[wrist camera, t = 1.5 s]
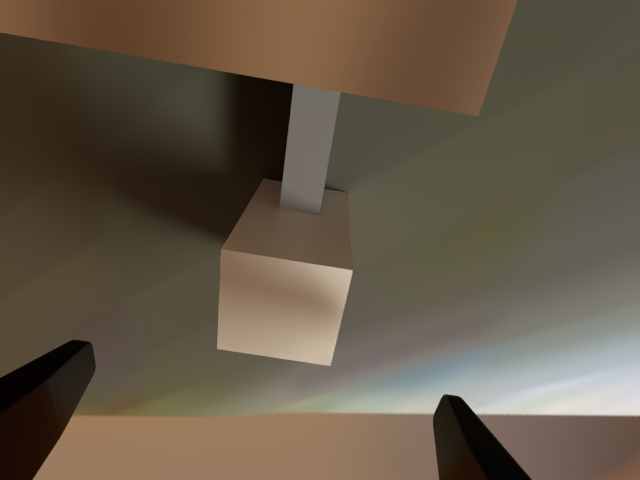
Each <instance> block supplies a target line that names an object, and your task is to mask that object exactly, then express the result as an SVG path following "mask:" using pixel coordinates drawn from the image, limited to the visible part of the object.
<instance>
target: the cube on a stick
mask: <svg viewBox="0 0 640 480" xmlns="http://www.w3.org/2000/svg"><path fill="white" fill-rule="evenodd" d="M340 93H341V92H338V91H332V90H326V89H321V88H315V87H309V86H303V85H298V84H294V86H293V94H292V103H291V112H290V120H289V129H288V137H287V146H286V155H285V163H284V172H283V180H282V181H276V180H270V179H263V181H262V182H261V184H260V186H259V187H258V189H257V191H256V192H255V194H254V196H253V197H252V199H251V201H250V202H249V204H248V206H247V207H246V209H245V211H244V212H243V214H242V216H241V217H240V219H239V221H238V222H237V224H236V226H235V227H234V229H233V231H232V232H231V234H230V236H229V237H228V239H227V240H226V242H225V244H224V245H223V247H222V249H221V267H220V292H219V317H218V342H217V349H222V350H228V351H235V352H241V353H248V354H255V355H261V356H268V357H274V358H281V359H288V360H294V361H301V362H308V363H314V364H321V365H327V366H331V362H332V357H333V353H334V349H335V345H336V340H337V336H338V332H339V328H340V323H341V319H342V315H343V311H344V306H345V302H346V298H347V294H348V289H349V285H350V281H351V277H352V272H353V264H352V249H351V234H350V220H349V205H348V193H347V192H341V191H335V190H329V189H324V186H325V180H326V174H327V168H328V163H329V157H330V151H331V145H332V139H333V134H334V128H335V122H336V116H337V110H338V104H339V99H340Z"/></svg>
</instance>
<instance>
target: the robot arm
mask: <svg viewBox="0 0 640 480" xmlns="http://www.w3.org/2000/svg"><path fill="white" fill-rule="evenodd" d="M95 368H96V364H95V358H94V352H93V346H92V344H91V343H90V342H88V341H81V340H71V341H69V342H67V343H65V344H63V345H62V346H60V347H58V348H56V349H54V350H52V351H50V352H48V353H46V354H45V355H43V356H41V357H39V358H37V359H35V360H33V361H31V362H29V363H28V364H26V365H24V366H22V367H20V368H18V369H16V370H14V371H12V372H11V373H9V374H7V375H5V376H3V377H1V378H0V480H33V478H34V477H35V475H36V473H37V472H38V470H39V469H40V467H41V466H42V464H43V463H44V461H45V460H46V458H47V457H48V455H49V454H50V452H51V451H52V449H53V448H54V446H55V445H56V443H57V441H58V440H59V438H60V437H61V435H62V433H63V431H64V430H65V428H66V426H67V424H68V422H69V420H70V418H71V417H72V415H73V413H74V411H75V409H76V407H77V405H78V403H79V401H80V400H81V398H82V396H83V394H84V392H85V390H86V388H87V386H88V384H89V382H90V381H91V379H92V377H93V375H94V372H95ZM433 428H434V437H435V446H436V455H437V464H438V472H439V480H532V479H531V478H530V477H529V476H528V474H527V473H526V472H525V471H524V470H523V469H522V467H521V466H520V465H519V464H518V463H517V462H516V460H515V459H514V458H513V457H512V456H511V455H510V454H509V453H508V451H507V450H506V449H505V448H504V447H503V445H502V444H501V443H500V442H499V441H498V440H497V438H496V437H495V436H494V435H493V434H492V433H491V432H490V431H489V429H488V428H487V427H486V426H485V425H484V423H483V422H482V421H481V420H480V419H479V418H478V416H477V415H476V414H475V413H474V412H473V411H472V409H471V408H470V407H469V406H468V405H467V404H466V403H465V401H464V400H463V399H462V398H461V397H459V396H454V395H447V394H446V395H443V396H442V398H441V400H440V402H439V405H438V407H437V409H436V411H435V413H434V417H433Z"/></svg>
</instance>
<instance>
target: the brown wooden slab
mask: <svg viewBox="0 0 640 480" xmlns="http://www.w3.org/2000/svg"><path fill="white" fill-rule="evenodd" d="M517 1H518V0H0V32H1V33H7V34H12V35H18V36H24V37H29V38H35V39H41V40H46V41H52V42H58V43H64V44H69V45H75V46H81V47H86V48H92V49H98V50H104V51H109V52H115V53H121V54H126V55H132V56H138V57H144V58H149V59H155V60H161V61H166V62H172V63H178V64H183V65H189V66H195V67H201V68H206V69H212V70H218V71H223V72H229V73H235V74H241V75H246V76H252V77H258V78H263V79H269V80H275V81H281V82H286V83H292V84H298V85H303V86H309V87H315V88H321V89H326V90H332V91H338V92H343V93H349V94H355V95H360V96H366V97H372V98H378V99H383V100H389V101H395V102H400V103H406V104H412V105H418V106H423V107H429V108H435V109H440V110H446V111H452V112H458V113H463V114H469V115H475V116H478V115H479V112H480V109H481V107H482V104H483V101H484V98H485V95H486V92H487V89H488V86H489V83H490V80H491V77H492V74H493V71H494V69H495V66H496V63H497V60H498V57H499V54H500V51H501V48H502V45H503V42H504V39H505V36H506V34H507V31H508V28H509V25H510V22H511V19H512V16H513V13H514V10H515V7H516V4H517Z"/></svg>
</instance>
